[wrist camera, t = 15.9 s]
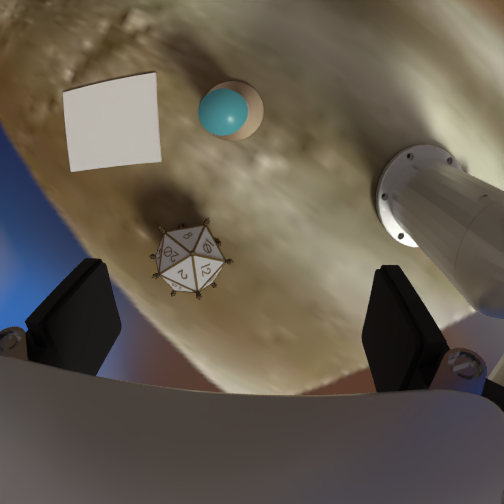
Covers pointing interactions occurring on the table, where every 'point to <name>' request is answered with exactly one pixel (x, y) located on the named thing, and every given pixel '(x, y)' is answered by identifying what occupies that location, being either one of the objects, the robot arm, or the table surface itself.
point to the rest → (255, 109)
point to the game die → (189, 259)
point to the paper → (113, 123)
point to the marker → (223, 111)
